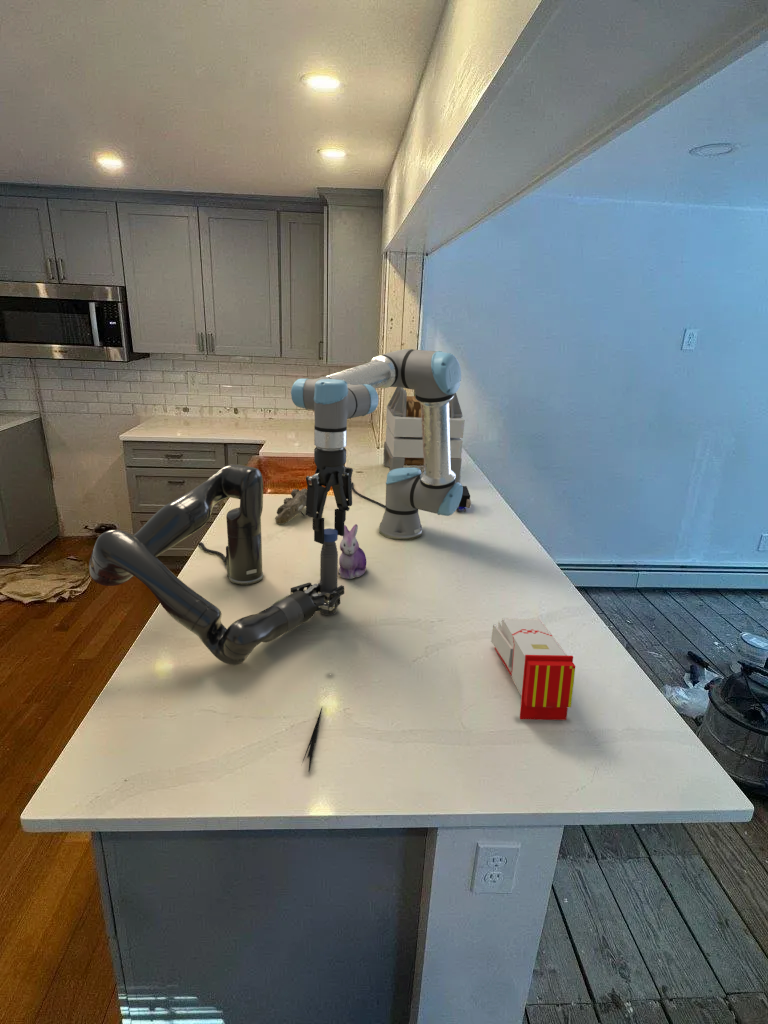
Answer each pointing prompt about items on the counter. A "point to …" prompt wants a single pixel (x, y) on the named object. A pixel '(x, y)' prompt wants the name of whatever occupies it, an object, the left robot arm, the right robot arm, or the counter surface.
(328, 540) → the cap
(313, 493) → the right robot arm
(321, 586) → the bottle
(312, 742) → the feather
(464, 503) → the figurine character
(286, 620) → the left robot arm
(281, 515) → the fossil
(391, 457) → the white wooden crate
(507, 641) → the toy
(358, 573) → the figurine
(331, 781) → the counter surface
